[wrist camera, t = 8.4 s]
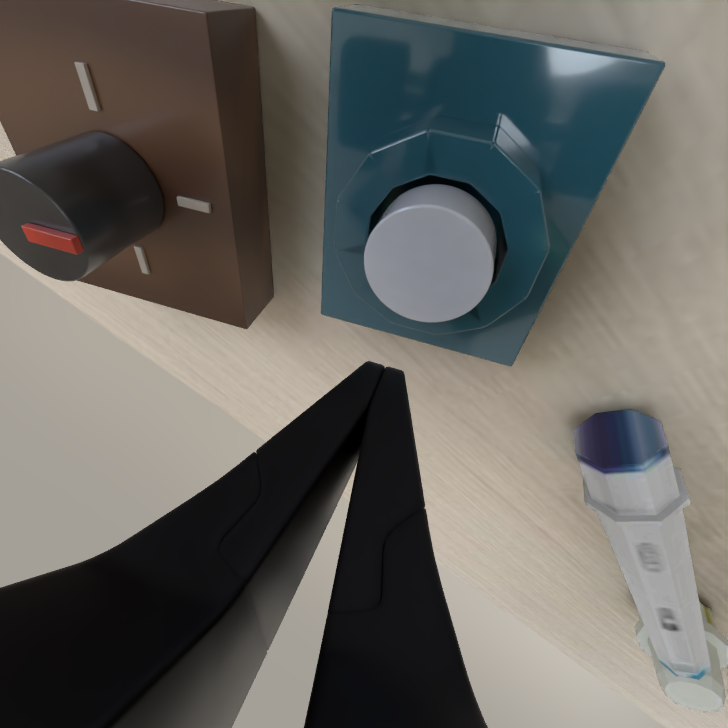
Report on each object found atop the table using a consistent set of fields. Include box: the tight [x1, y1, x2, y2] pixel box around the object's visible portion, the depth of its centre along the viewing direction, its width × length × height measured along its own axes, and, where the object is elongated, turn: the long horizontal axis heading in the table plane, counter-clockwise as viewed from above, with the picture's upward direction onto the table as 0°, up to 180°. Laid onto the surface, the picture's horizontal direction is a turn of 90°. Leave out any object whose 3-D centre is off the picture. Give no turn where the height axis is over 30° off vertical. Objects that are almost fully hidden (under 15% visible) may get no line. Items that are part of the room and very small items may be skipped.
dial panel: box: [0, 0, 273, 329], centre depth 18 cm, size 12×10×3 cm
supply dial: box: [0, 131, 164, 281], centre depth 15 cm, size 4×4×4 cm
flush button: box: [364, 184, 497, 322], centre depth 13 cm, size 4×4×2 cm
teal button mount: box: [321, 4, 665, 366], centre depth 15 cm, size 11×9×4 cm
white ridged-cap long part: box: [574, 409, 728, 712], centre depth 25 cm, size 5×7×25 cm
